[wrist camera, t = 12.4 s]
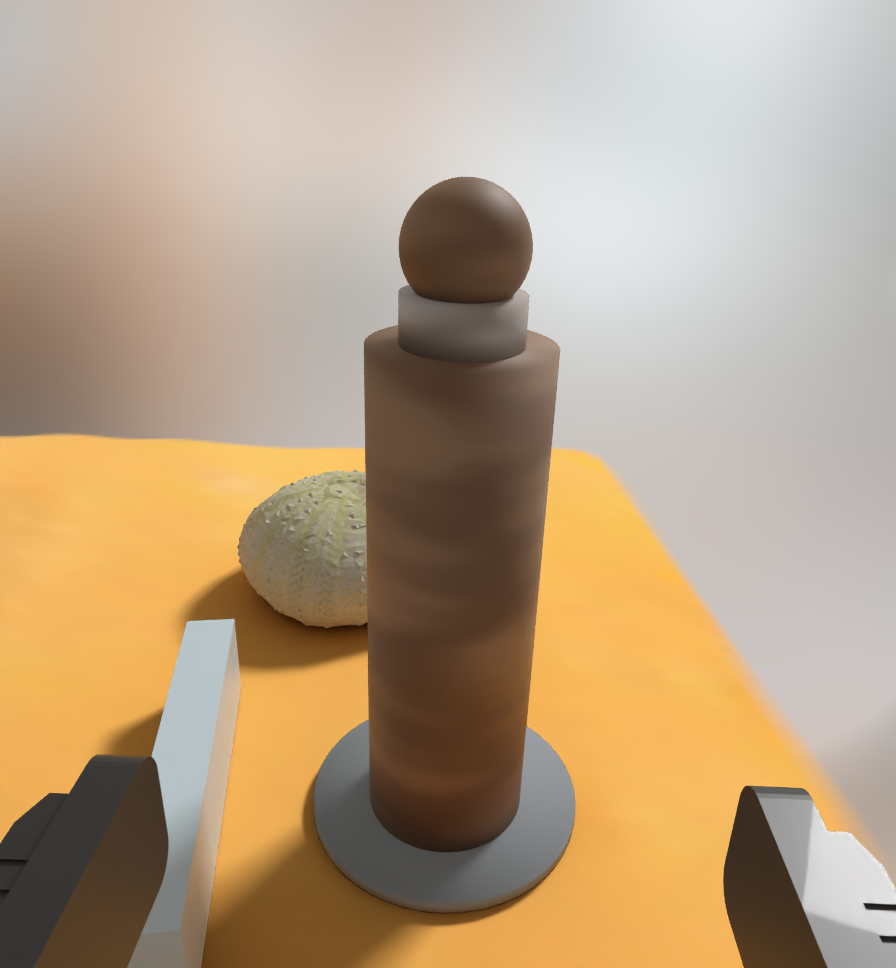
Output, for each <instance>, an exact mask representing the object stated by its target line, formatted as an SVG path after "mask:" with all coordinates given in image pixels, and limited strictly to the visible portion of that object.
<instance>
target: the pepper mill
mask: <svg viewBox="0 0 896 968" xmlns="http://www.w3.org/2000/svg"><path fill="white" fill-rule="evenodd" d="M532 252H533V241H532V233H531V229H530V225H529V222H528V219H527V217H526V215H525V213H524V211H523V209H522V207H521V206H520V205H519V203H518V202H517V201H516V199H515V198H514V197H512V195H510V193H508V192H507V191H506V190H504V189H503V188H502V187H500V186H498V185H496V184H495V183H492V182H490V181H487V180H485V179H480V178H476V177H457V178H452V179H448V180H445V181H442V182H440V183H438V184H436V185H434V186H432V187H431V188H429V189H428V190H426V191H425V192H424V193H423V194H422V195H421V196H419V198H418V199H417V200H416V201H415V202H414V203H413V205H412V206H411V208H410V209H409V211H408V213H407V215H406V217H405V219H404V221H403V224H402V227H401V231H400V237H399V257H400V262H401V267H402V270H403V273H404V275H405V277H406V279H407V281H408V283H409V285H407V286H405V287H402V288H401V289H400V290H399V296H398V300H399V301H398V302H399V303H398V304H399V305H398V307H399V308H398V309H399V310H398V315H399V316H398V319H399V320H398V325H397V326H393V327H389V328H385V329H382V330H379V331H377V332H374V333H373V334H371V335H369V336H368V337H367V338H366V339H365V341H364V387H365V464H366V541H367V618H368V695H369V772H370V801H371V806H372V809H373V812H374V814H375V816H376V818H377V819H378V821H379V822H380V823H381V825H382V826H383V827H384V828H385V829H386V830H387V831H388V832H389V833H390V834H392V835H393V836H394V837H396V838H397V839H399V840H400V841H402V842H404V843H406V844H408V845H411V846H413V847H416V848H419V849H423V850H427V851H433V852H444V853H448V852H460V851H467V850H470V849H474V848H477V847H480V846H482V845H485V844H487V843H489V842H491V841H492V840H494V839H495V838H497V837H498V836H500V835H501V834H502V833H503V832H504V831H505V830H506V829H507V828H508V827H509V825H510V824H511V823H512V821H513V820H514V818H515V816H516V814H517V811H518V808H519V802H520V792H521V781H522V769H523V758H524V747H525V736H526V725H527V714H528V703H529V691H530V680H531V669H532V658H533V647H534V636H535V625H536V613H537V602H538V591H539V580H540V569H541V558H542V547H543V535H544V524H545V513H546V502H547V491H548V480H549V469H550V457H551V445H552V435H553V424H554V413H555V402H556V391H557V379H558V367H559V356H560V348H559V346H558V345H557V343H555V342H554V341H553V340H551V339H550V338H548V337H546V336H543V335H541V334H538V333H535V332H532V331H529V330H527V323H528V309H529V294H528V293H527V292H525V291H523V290H521V289H519V288H520V286H521V285H522V283H523V281H524V280H525V278H526V275H527V273H528V271H529V268H530V263H531V260H532Z"/></svg>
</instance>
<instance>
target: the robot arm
mask: <svg viewBox="0 0 896 968" xmlns="http://www.w3.org/2000/svg"><path fill="white" fill-rule="evenodd" d="M168 850H169V839H168V831H167V824H166V818H165V812H164V805H163V799H162V793H161V786H160V780H159V774H158V768H157V764H156V761H155V760H154V758H152V757H143V756H121V755H95V756H94V757H93V758H92V759H91V760H90V761H89V762H88V764H87V765H86V767H85V768H84V770H83V772H82V773H81V775H80V777H79V778H78V780H77V781H76V783H75V785H74V786H73V788H72V790H71V791H70V793H69V794H61V793H49V794H48V795H47V796H45V797H44V798H43V799H42V800H41V801H39V802H38V803H37V804H36V805H35V806H33V807H32V808H31V809H30V810H29V811H27V812H26V813H25V814H24V815H23V816H22V817H20V818H19V819H18V820H17V821H16V822H14V824H13V825H12V827H11V828H10V830H9V831H8V833H7V834H6V836H5V837H4V839H3V840H2V842H1V843H0V968H127V967H128V964H129V962H130V960H131V957H132V955H133V952H134V950H135V948H136V945H137V943H138V940H139V938H140V936H141V933H142V931H143V928H144V926H145V924H146V921H147V919H148V916H149V914H150V912H151V909H152V907H153V904H154V902H155V900H156V897H157V895H158V892H159V890H160V887H161V885H162V882H163V878H164V875H165V871H166V866H167V859H168ZM723 882H724V897H725V904H726V909H727V914H728V917H729V921H730V924H731V927H732V931H733V934H734V937H735V940H736V943H737V947H738V950H739V953H740V956H741V959H742V963H743V966H744V968H896V889H895V887H894V885H893V883H892V881H891V879H890V878H889V876H888V874H887V872H886V870H885V868H884V866H883V865H882V864H881V863H880V862H879V861H878V860H877V859H876V858H875V857H874V856H873V855H872V854H871V853H870V852H869V851H868V850H867V849H866V848H865V847H864V846H863V845H862V844H861V843H860V842H859V841H858V840H857V839H856V838H855V837H854V836H853V835H852V834H851V833H850V832H836V831H828V830H827V828H826V826H825V824H824V822H823V820H822V818H821V816H820V814H819V812H818V810H817V808H816V806H815V804H814V802H813V800H812V798H811V796H810V795H809V793H808V792H807V791H806V790H805V789H802V788H787V787H764V786H745V787H744V788H743V790H742V792H741V795H740V799H739V803H738V807H737V812H736V816H735V821H734V825H733V830H732V834H731V838H730V843H729V847H728V852H727V856H726V861H725V866H724V878H723Z"/></svg>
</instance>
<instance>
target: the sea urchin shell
mask: <svg viewBox="0 0 896 968" xmlns="http://www.w3.org/2000/svg"><path fill="white" fill-rule="evenodd" d="M237 547H238V549H239V552H238V555H239V557H240V560H239V562H240V564H241V566H242V569H243V571H244V573H245V575H246V579H247V580H248V581H249V583H250V585H251V586H252V587H253V588H254V589H255V590H256V592H257V595H260V596H262V597H263V598H264V599H265V600H267V601H268V603H269V604H270V605H272V607H273V608H274V610H276V611H278V612H279V613H280V614H282V613H283V614H285V615H287V616H290V617H292V618H294V619H296V620H298V621H300V622H302V623H304V624H305V625H308V626H311V625H314V626H318V627H325V628H330V627H334V626H343V625H358V626H361V625H363V624H365V623H368V618H367V541H366V472H358V471H356V470H354V471H353V472H345V471H334V472H326V473H323V474H321V475H318V476H314V475H313V476H312V477H311V478H310V477H305V478H304V479H302V480H299V481H298V482H295V483H291V485H288V486H283V487H282V488H281V489H280V490H279V491H278V492H276V493H275V494H273V495H272V496H271V497H269V498H268V499H266V500H265V501H264V502H262V503H261V504H260V505H259V506H258V507H256V508H254V510H253V511H252V513H251V514H250V516H249V517H248V519H247V521H246V524H244V525H243V530H242V532H241V536H240V538H239V545H238V546H237Z"/></svg>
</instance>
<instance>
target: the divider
mask: <svg viewBox="0 0 896 968" xmlns="http://www.w3.org/2000/svg"><path fill="white" fill-rule="evenodd" d="M240 691H241V682H240V671H239V661H238V650H237V640H236V629H235V619H220V620H201V621H187V624H186V628H185V632H184V635H183V639H182V643H181V647H180V650H179V654H178V658H177V662H176V666H175V669H174V673H173V677H172V681H171V684H170V688H169V692H168V696H167V699H166V703H165V707H164V711H163V714H162V718H161V722H160V726H159V730H158V733H157V737H156V741H155V745H154V748H153V752H152V756H151V757H152V758H154V760H155V761H156V764H157V768H158V774H159V780H160V786H161V793H162V799H163V805H164V812H165V818H166V824H167V831H168V839H169V850H168V859H167V866H166V871H165V875H164V878H163V882H162V885H161V887H160V890H159V892H158V895H157V897H156V900H155V902H154V904H153V907H152V909H151V912H150V914H149V916H148V919H147V921H146V924H145V926H144V928H143V931H142V933H141V936H140V938H139V940H138V943H137V945H136V948H135V950H134V952H133V955H132V957H131V960H130V962H129V964H128V967H127V968H201V965H202V958H203V951H204V944H205V937H206V930H207V923H208V916H209V909H210V902H211V895H212V888H213V881H214V874H215V867H216V860H217V853H218V846H219V839H220V832H221V825H222V818H223V811H224V804H225V797H226V790H227V783H228V776H229V769H230V762H231V755H232V748H233V741H234V734H235V727H236V720H237V712H238V705H239V698H240Z"/></svg>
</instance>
